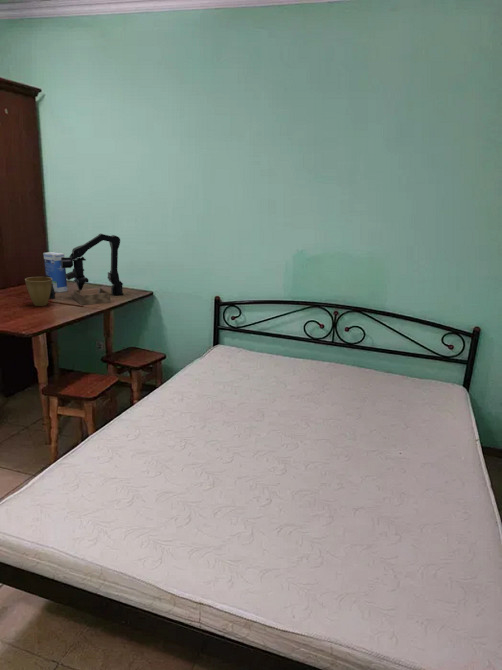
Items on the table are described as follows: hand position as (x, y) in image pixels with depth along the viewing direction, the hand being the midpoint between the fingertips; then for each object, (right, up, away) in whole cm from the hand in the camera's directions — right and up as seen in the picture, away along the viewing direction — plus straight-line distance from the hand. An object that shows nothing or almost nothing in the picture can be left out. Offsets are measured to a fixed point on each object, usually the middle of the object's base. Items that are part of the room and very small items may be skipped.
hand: (80, 291), depth 306 cm
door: (+7, -4, -1) cm, 8 cm away
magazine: (-21, -5, -5) cm, 23 cm away
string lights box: (-22, +2, +17) cm, 28 cm away
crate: (+10, -7, -7) cm, 14 cm away
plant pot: (-16, -10, -21) cm, 29 cm away
